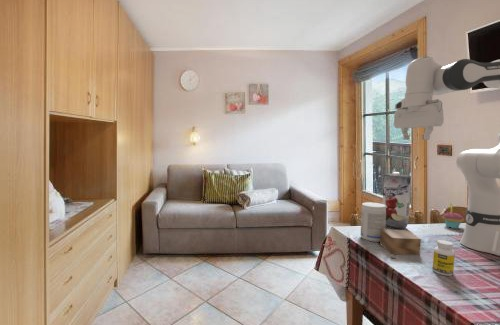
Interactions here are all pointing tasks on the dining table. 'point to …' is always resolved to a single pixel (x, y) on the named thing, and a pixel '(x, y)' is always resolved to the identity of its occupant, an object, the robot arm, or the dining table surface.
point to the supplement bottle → (443, 258)
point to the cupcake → (453, 219)
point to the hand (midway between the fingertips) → (415, 139)
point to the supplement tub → (372, 221)
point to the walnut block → (400, 242)
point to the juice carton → (397, 200)
